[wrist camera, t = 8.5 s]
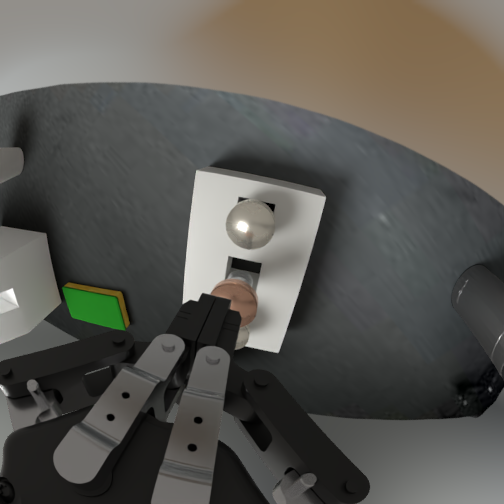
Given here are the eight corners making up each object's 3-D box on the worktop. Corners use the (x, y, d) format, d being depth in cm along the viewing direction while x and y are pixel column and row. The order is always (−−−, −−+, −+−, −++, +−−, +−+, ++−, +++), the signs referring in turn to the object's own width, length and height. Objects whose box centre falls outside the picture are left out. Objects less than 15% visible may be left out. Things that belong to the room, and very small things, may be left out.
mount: (320, 189, 32) (326, 197, 27) (279, 331, 41) (278, 352, 36) (208, 166, 32) (196, 170, 28) (191, 310, 41) (181, 330, 37)
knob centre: (265, 266, 29) (261, 293, 24) (257, 302, 31) (251, 332, 26) (222, 257, 30) (209, 281, 25) (217, 293, 32) (205, 321, 27)
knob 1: (256, 300, 36) (252, 325, 31) (250, 327, 38) (245, 353, 33) (221, 292, 36) (211, 316, 31) (217, 319, 38) (208, 344, 33)
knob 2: (280, 197, 30) (279, 208, 25) (271, 236, 32) (269, 254, 27) (239, 188, 30) (229, 197, 25) (232, 227, 32) (222, 243, 27)
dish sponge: (68, 281, 43) (61, 286, 41) (123, 290, 42) (116, 297, 40) (77, 311, 46) (71, 317, 44) (131, 323, 45) (125, 331, 43)
